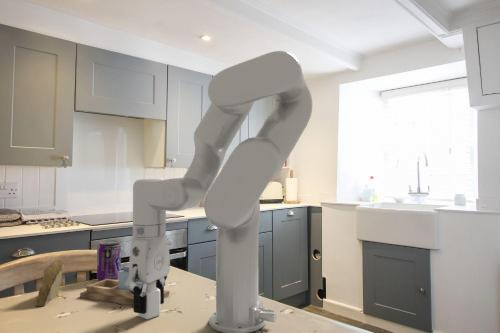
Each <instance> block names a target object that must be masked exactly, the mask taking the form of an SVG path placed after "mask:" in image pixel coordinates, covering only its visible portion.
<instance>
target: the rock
mask: <svg viewBox="0 0 500 333" xmlns="http://www.w3.org/2000/svg"><path fill="white" fill-rule="evenodd" d="M64 265H65V263H64V262H62V261H61V260H57V261H54V262H52V263H51V264H50V265H48V266H47V267H46V268H45V269H44V270H43V278H42V281H41V282H42V283H41V286H40V288H39V290H38V295H37V298H36V300H35V303H34V306H35V307H45V306H46V305H47V304H49V302H51V301H52V300H54V299H55V298H56V297H57V296H58V295H59V294H60V288H61V283H62V282H61V281H62V277H63V273H64V267H65V266H64Z"/></svg>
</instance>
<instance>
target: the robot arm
mask: <svg viewBox="0 0 500 333" xmlns="http://www.w3.org/2000/svg"><path fill="white" fill-rule="evenodd" d="M307 84H308V83H307V82H306V80H305V78H304V73H303V69H302V66H301V63H300V61H299V59H297V57H296V56H295V55H294V54H292V53H290V52H288V51H285V50H276V51H270V52H267V53H264V54H262V55H259V56H256V57H254V58H251V59H248V60H245V61H242V62H240V63H237V64H234V65H232V66H229V67H227V68H224V69H222V70H220V71H218V72H217V73H216V74H215V75H214V76H213V77H212V78H211V79H210V81H209V82H208V86H207V95H208V99H209V100H210V102H211V103H210V104H209V107H208V109H207V110H206V112H205V113H204V115H203V117H202V119H201V120H200V122H199V124H198V125H197V127H196V128H195V130H194V132H193V142H194V155H193V157H192V161H191V163H190V165H189V167H188V168H187V170H186V172H185V174H184V175H183V177H177V178H175V177H174V178H168V179H160V178H158V179H157V178H154V179H153V178H145V179H144V178H141V179H136V180H135V181H134V182H133V184H132V185H133V187H132V239H131V244H130V250H129V251H130V252H129V259H128V260H129V263H128V265H129V277H128V279H127V280H126V282H125V286H126V287H127V288H128V289H129V291H130V292H131V293H132V295H133V296H134V306H133V313H136V314H138V313H141V314H145V313H146V311H147V297H146V296H145V290H146V286H147V284H149V283H152V282H154V281H156V287H157V288H158V289H160V305H163V304H164V303H165V298H164V290H165V286H166V280H167V278H168V275H169V274H170V272H171V258H170V257H171V256H170V255H171V254H170V245H169V238H168V235H167V234H166V232H167V231H166V230H167V229H166V227H167V226H166V224H167V223H166V220H167V219H166V218H167V216H166V211H168V212H180V211H184V210H187V209H192V208H195V207H197V206H198V205H199V204H200V203H201V202H203V200H204V205H203V207H204V213H205V215H206V216H205V217H206V219H207V220H208V222H209V223H210V224H212V226H214V227H215V228H216V241H215V244H216V246H215V247H216V250H215V252H216V254H215V274H216V275H215V280H216V281H215V291H216V292H215V299H216V300H215V302H216V303H215V306H216V307H215V309H216V310H215V312H213V313H212V314H210V316H209V319H208V322H209V326H210V327H211V328H212V329H213V330H215V331H217V332H220V333H253V332H255V331H258V330H261V329H262V328H263V327H264V326H265V325H266V322H269V323H270V322H271V323H276V320H277V313H276V312H275V309H274V308H266V307H264V306H263V304H264V303H263V301H264V300H259V234H260V233H259V231H260V218H261V217H260V214H261V203H260V198H261V196H262V194H263V193H264V191H265V189H266V188H267V186H268V185H269V183H270V182H272V181H273V180H276V178H277V177H278V175H279V174H280V173H281V171H282V169H283V167H284V165H285V163H286V162H287V161H288V160H287V159H288V158H289V157H290V155H291V153H292V152H293V150H294V148H295V146H296V145H297V143H298V142H299V139H300V138H301V136H302V134H303V133H304V132H305V130H306V128H307V126H308V124H309V122H310V119H311V116H312V113H313V112H312V111H313V97H312V93H311V90H310V88H309V86H308V85H307ZM269 97H272V99H273V100H274V107H273V110H272V111H271V112H270V114H269V115H268V116H267V118H266V119H265V120H264V123H263V124H262V126H261V127H260V129H259V130H258V132H257V134H256V135H255V136H253V137H249V138H246V139H244V140H242V141H241V142H240V143H238V144H237V145H236V147H235V148H234V149H233V150H232V152H231V154H230V155H229V156H228V158H227V160H226V162H225V163H224V165H223V161H224V160H225V156H226V153H227V151H228V149H229V147H230V146H231V144H232V142H233V140H234V139H235V137H236V136H237V134H238V131H239V130H240V128H241V127H242V125H243V123H244V122H245V120H246V119H247V117H248V115H249V113H250V112H251V110H252V108H253V106H254V104H255V102H256V101H260V100H262V99H265V98H269ZM222 165H223V167H221V166H222ZM220 169H221V170H220ZM139 280H140V281H139ZM139 284H142V285H141V289H140V288H139V287H138V285H139Z"/></svg>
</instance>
